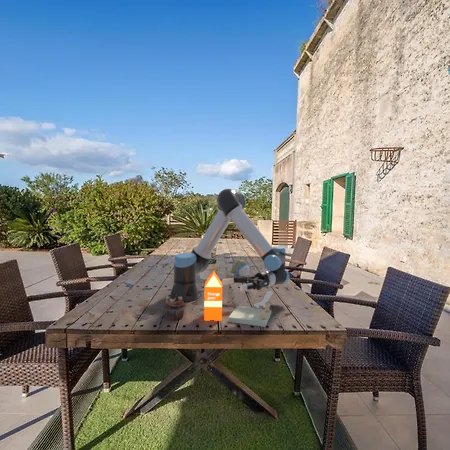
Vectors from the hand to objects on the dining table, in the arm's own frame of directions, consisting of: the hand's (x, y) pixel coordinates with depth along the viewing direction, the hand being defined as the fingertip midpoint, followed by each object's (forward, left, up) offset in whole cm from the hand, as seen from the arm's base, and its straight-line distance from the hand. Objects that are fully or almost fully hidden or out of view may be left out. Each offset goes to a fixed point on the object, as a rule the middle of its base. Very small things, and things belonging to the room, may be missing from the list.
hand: (231, 285), depth 135 cm
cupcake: (-22, -14, -13) cm, 29 cm away
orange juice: (-6, -8, -13) cm, 17 cm away
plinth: (+10, -3, -13) cm, 17 cm away
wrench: (+12, +27, -14) cm, 33 cm away
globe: (-14, +73, -13) cm, 76 cm away
